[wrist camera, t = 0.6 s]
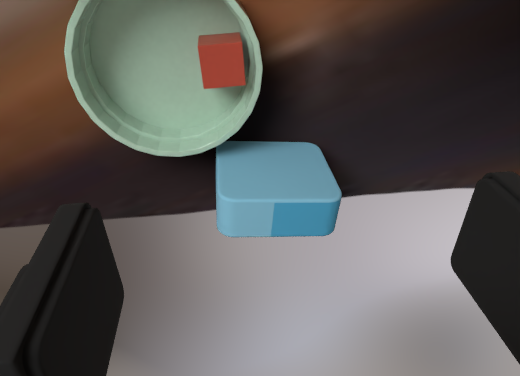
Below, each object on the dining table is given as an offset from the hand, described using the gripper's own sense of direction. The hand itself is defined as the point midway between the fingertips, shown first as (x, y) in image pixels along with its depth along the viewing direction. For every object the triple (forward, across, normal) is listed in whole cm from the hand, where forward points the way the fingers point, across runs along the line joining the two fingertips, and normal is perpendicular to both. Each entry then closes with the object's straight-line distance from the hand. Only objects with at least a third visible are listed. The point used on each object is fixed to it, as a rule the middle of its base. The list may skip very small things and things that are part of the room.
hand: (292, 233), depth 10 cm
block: (+33, +1, +4) cm, 33 cm away
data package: (+34, -3, +17) cm, 38 cm away
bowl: (+33, +6, +4) cm, 34 cm away
